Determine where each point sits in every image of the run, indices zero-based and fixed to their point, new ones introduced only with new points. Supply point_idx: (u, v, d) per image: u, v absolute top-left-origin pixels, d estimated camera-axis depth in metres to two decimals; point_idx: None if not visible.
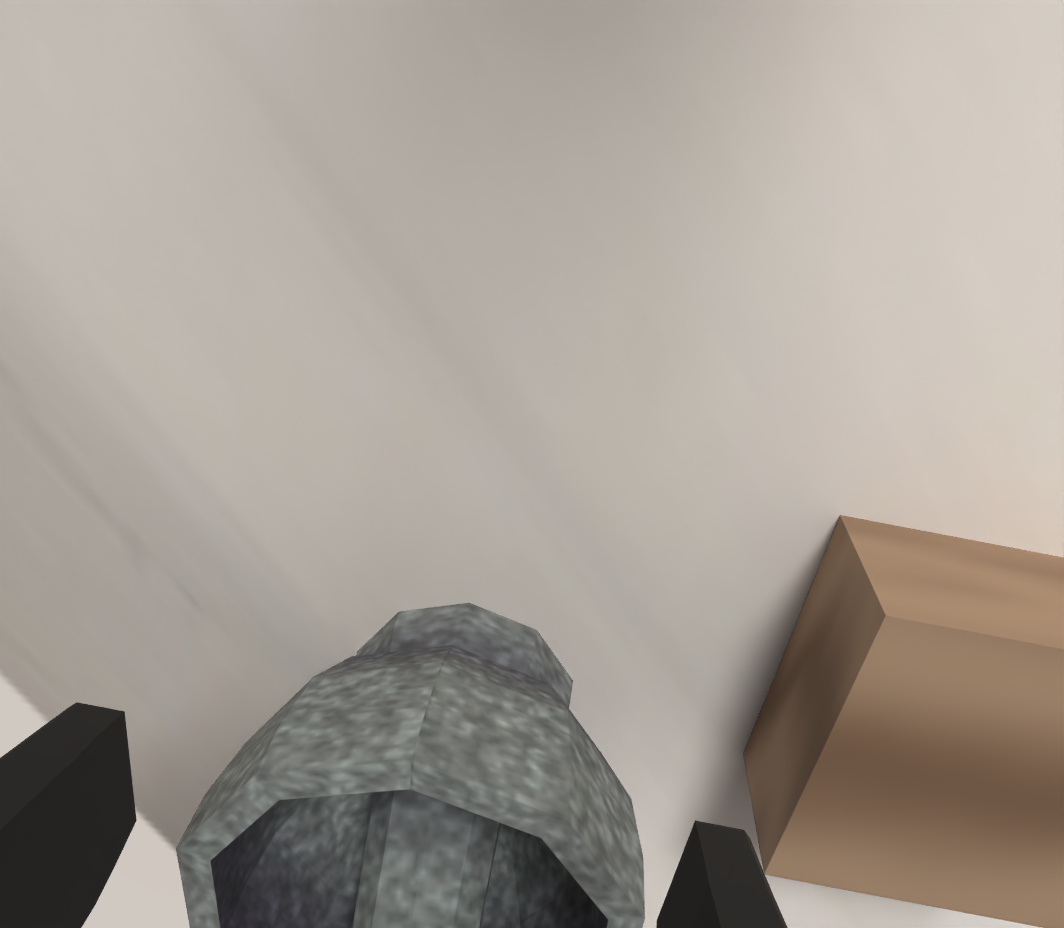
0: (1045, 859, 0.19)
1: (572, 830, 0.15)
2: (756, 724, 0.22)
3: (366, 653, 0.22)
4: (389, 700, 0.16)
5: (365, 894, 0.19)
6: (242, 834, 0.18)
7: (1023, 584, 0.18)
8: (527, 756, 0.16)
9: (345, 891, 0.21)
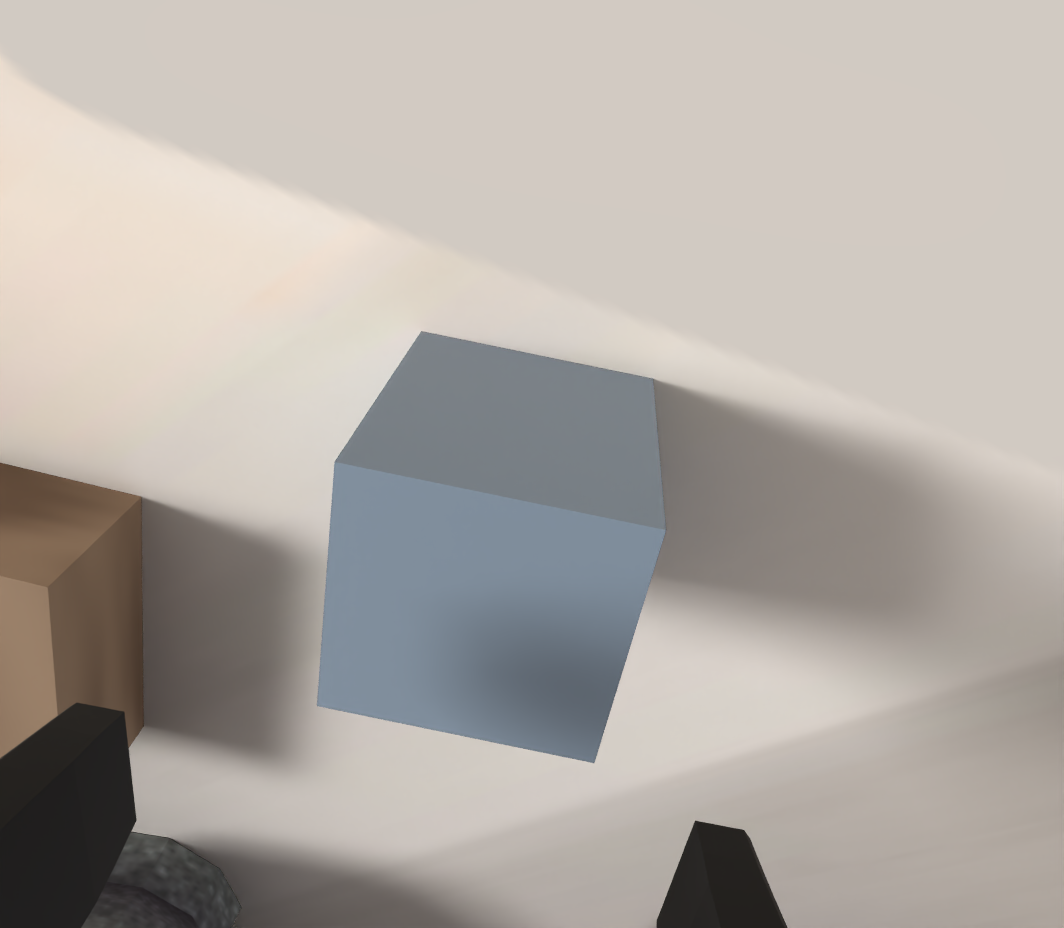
0: None
1: None
2: None
3: None
4: None
5: None
6: None
7: None
8: None
9: None
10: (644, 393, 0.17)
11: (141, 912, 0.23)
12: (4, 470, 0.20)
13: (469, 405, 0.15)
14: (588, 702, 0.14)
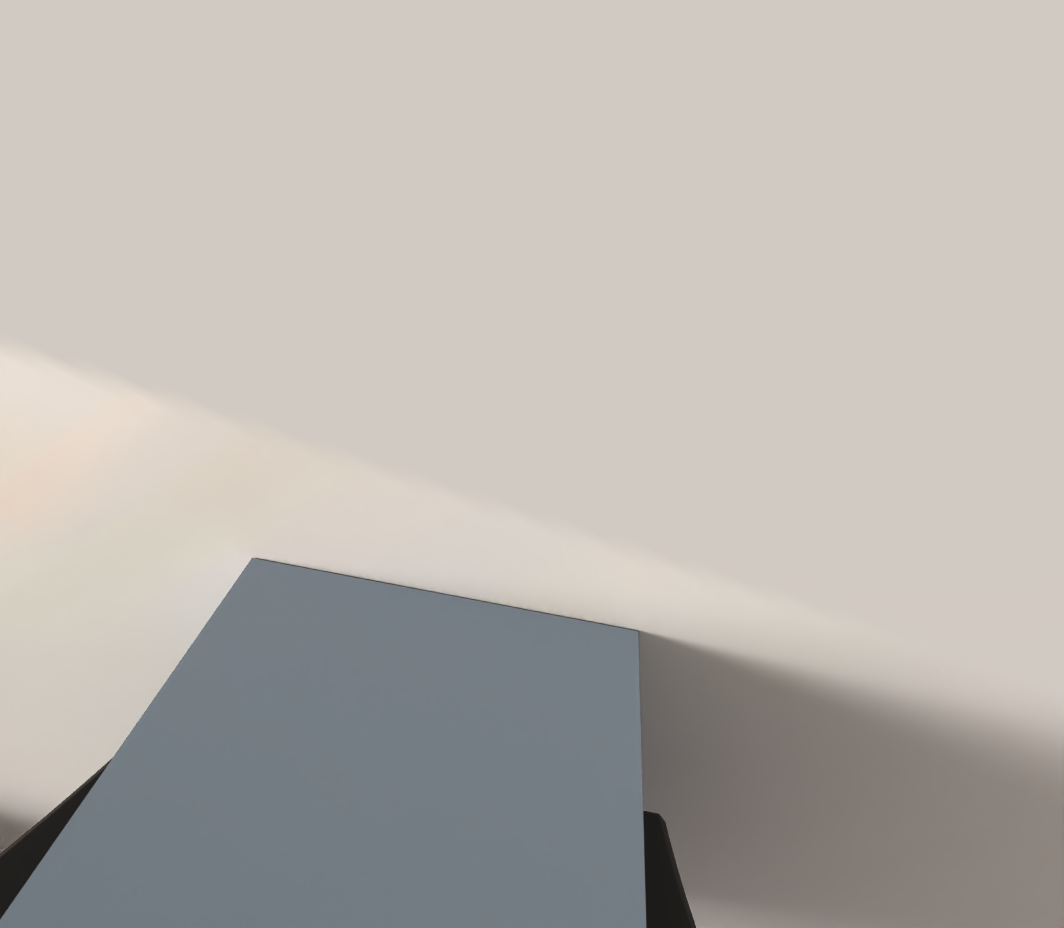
0: None
1: None
2: None
3: None
4: None
5: None
6: None
7: None
8: None
9: None
10: (621, 680, 0.10)
11: None
12: None
13: (280, 782, 0.08)
14: None
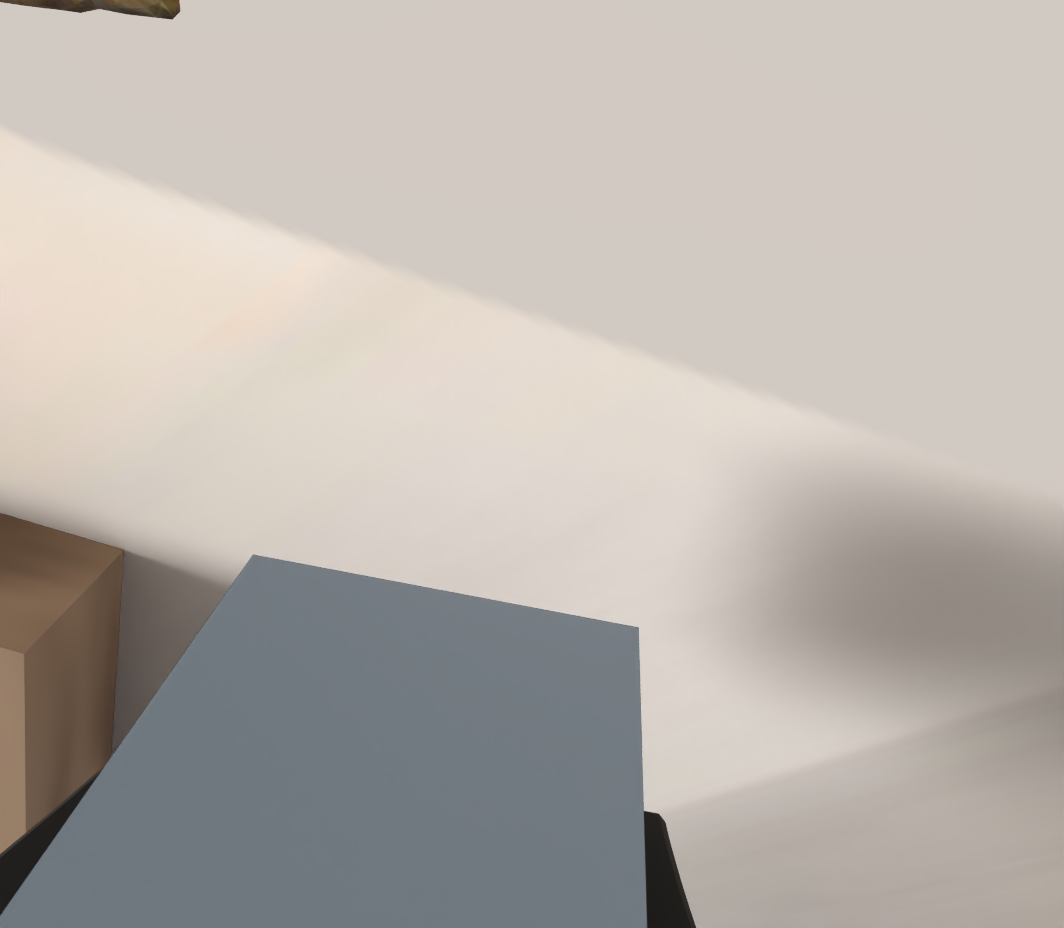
0: None
1: None
2: None
3: None
4: None
5: None
6: None
7: None
8: None
9: None
10: (621, 677, 0.10)
11: None
12: None
13: (282, 775, 0.08)
14: None
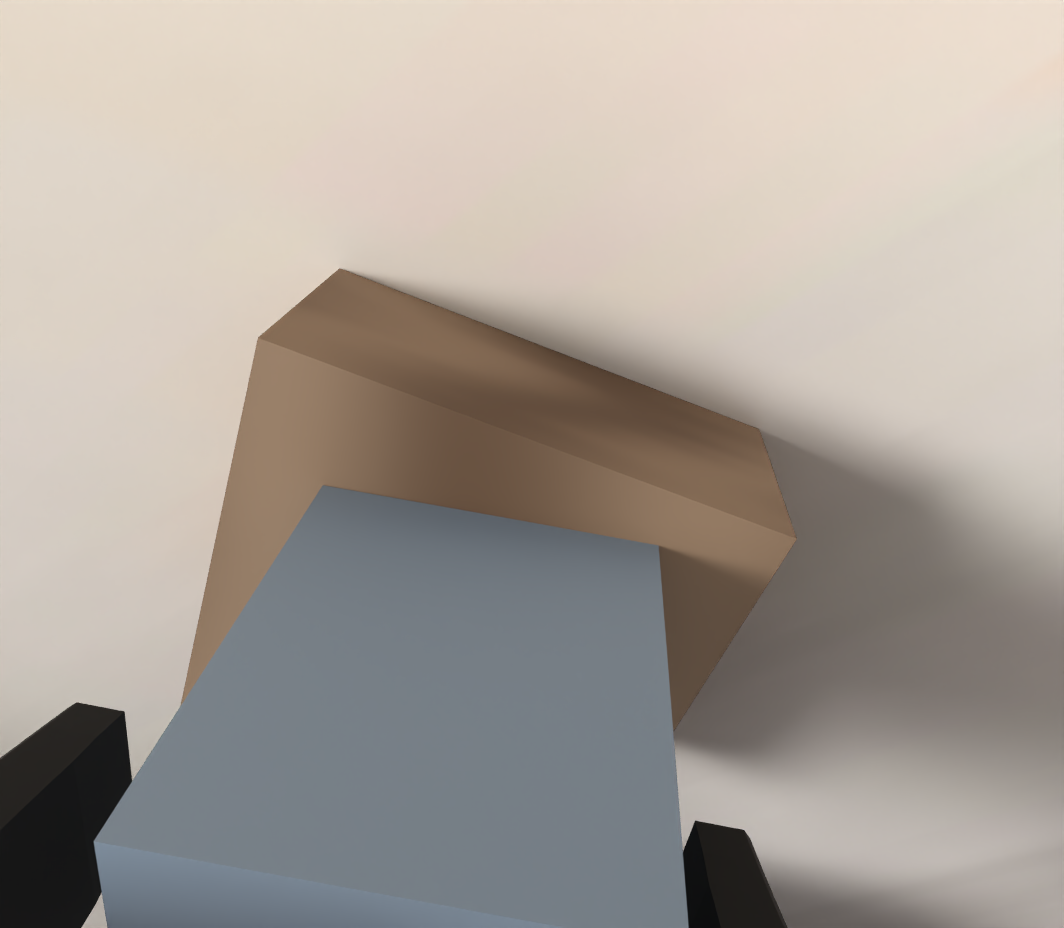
0: None
1: None
2: None
3: None
4: None
5: None
6: None
7: None
8: None
9: None
10: (645, 581, 0.11)
11: None
12: (594, 370, 0.14)
13: (369, 647, 0.09)
14: None
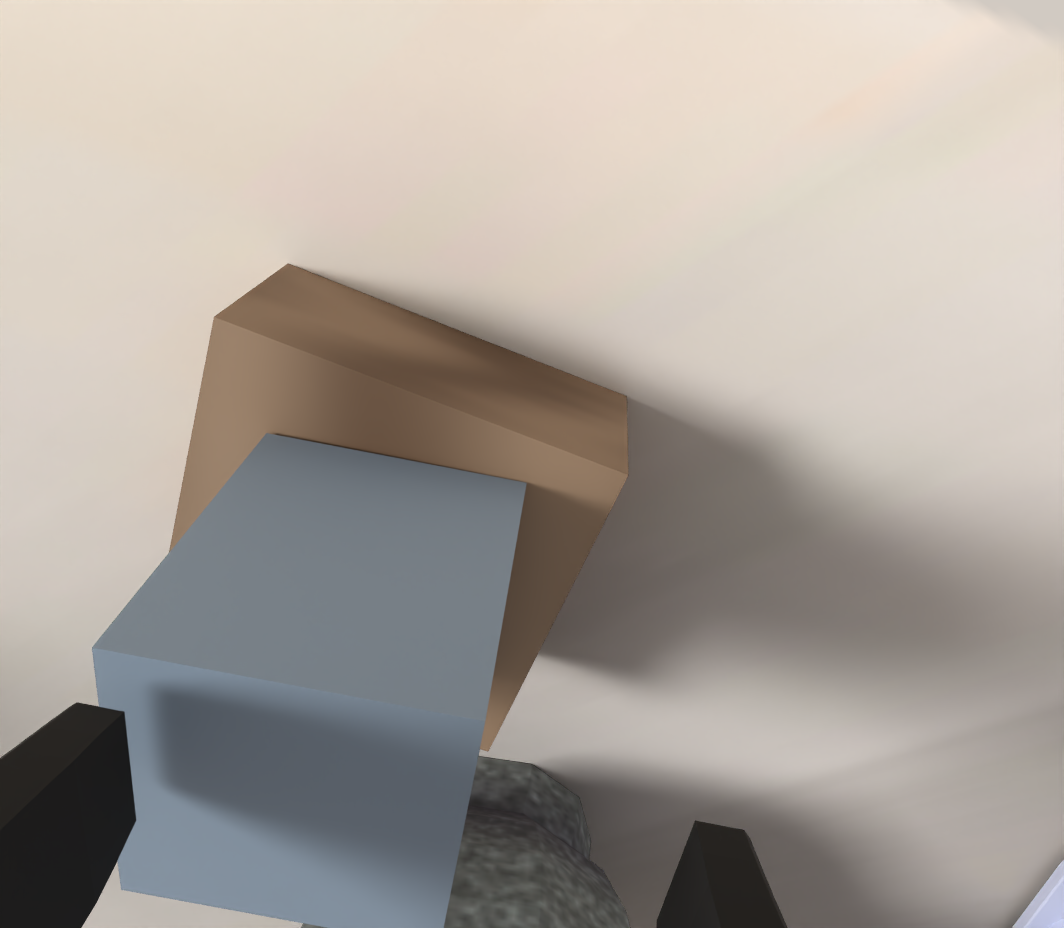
0: None
1: None
2: None
3: None
4: None
5: None
6: None
7: None
8: None
9: None
10: (510, 506, 0.15)
11: (547, 834, 0.22)
12: (491, 348, 0.18)
13: (291, 543, 0.13)
14: (422, 890, 0.12)
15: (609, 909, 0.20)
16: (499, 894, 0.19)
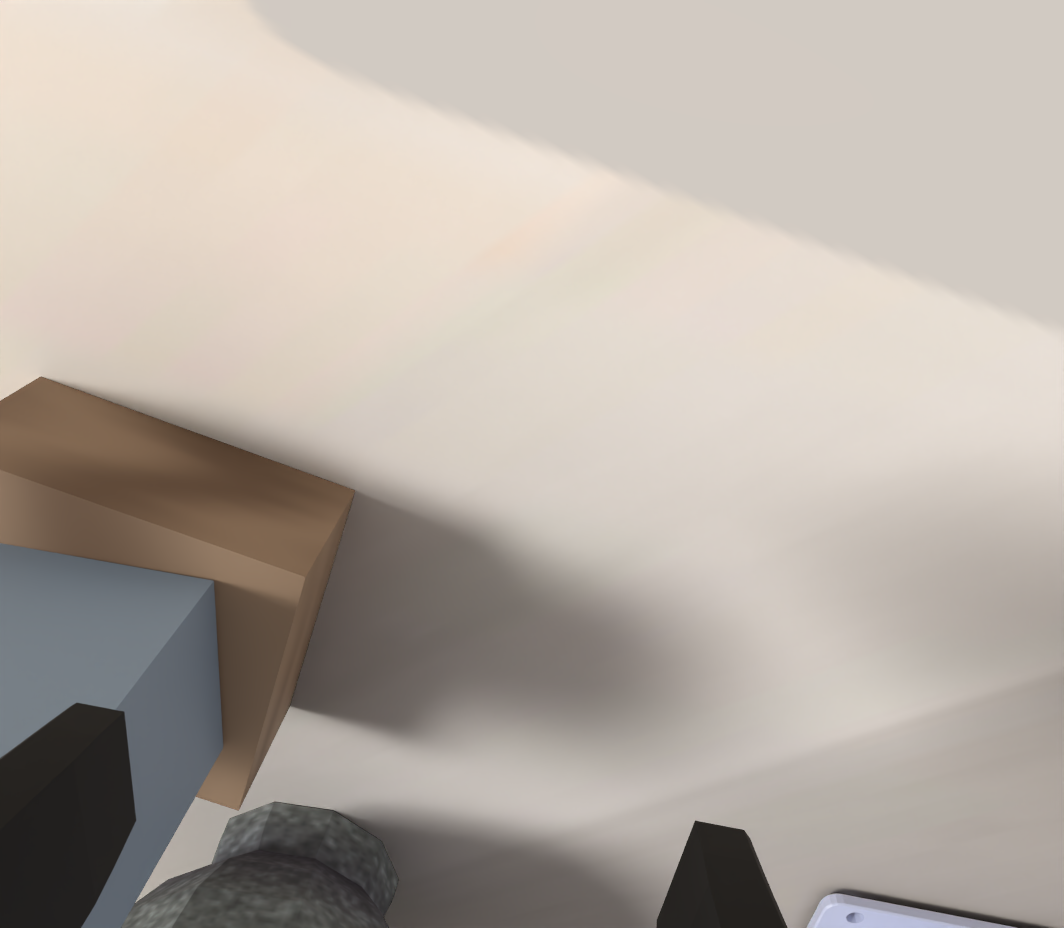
0: None
1: None
2: None
3: None
4: None
5: None
6: None
7: None
8: None
9: None
10: (182, 606, 0.17)
11: (324, 881, 0.23)
12: (227, 450, 0.20)
13: None
14: None
15: None
16: None
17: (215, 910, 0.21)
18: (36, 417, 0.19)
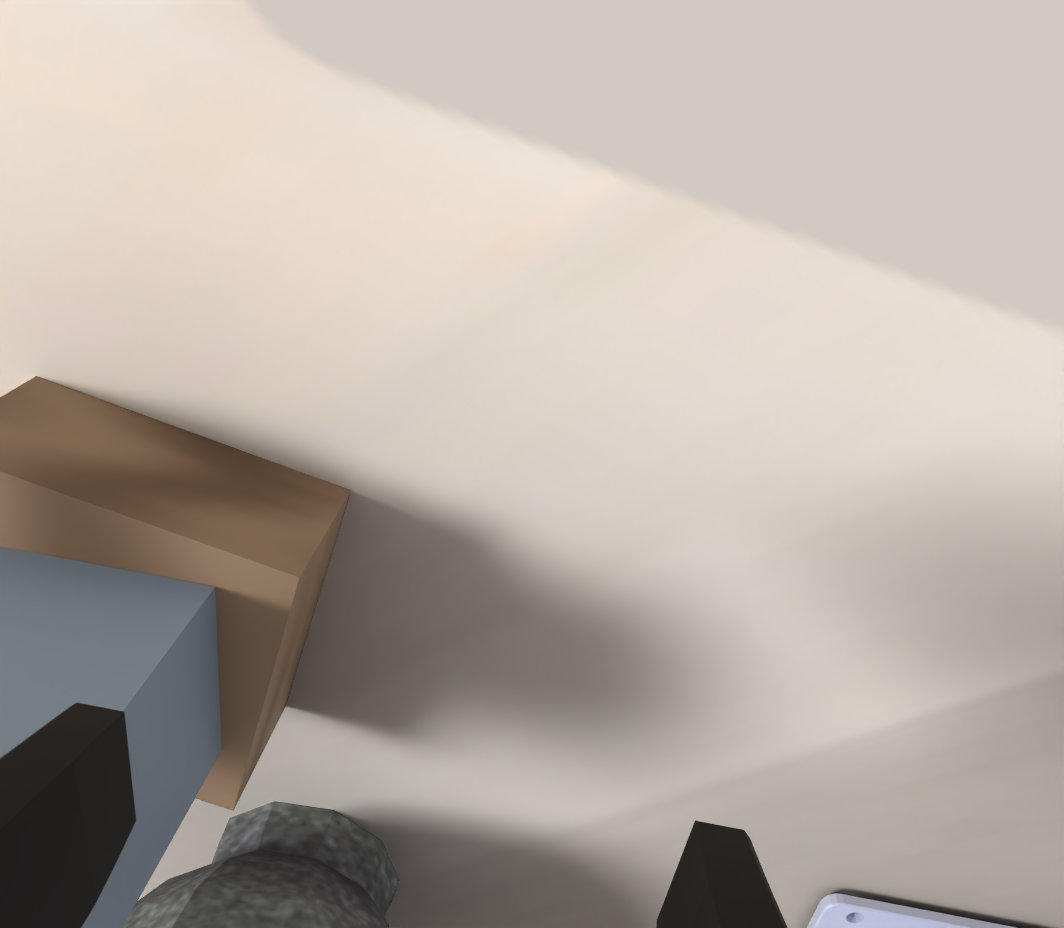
0: None
1: None
2: None
3: None
4: None
5: None
6: None
7: None
8: None
9: None
10: (184, 612, 0.17)
11: (324, 880, 0.23)
12: (222, 449, 0.20)
13: None
14: None
15: None
16: None
17: (215, 909, 0.21)
18: (31, 417, 0.19)
